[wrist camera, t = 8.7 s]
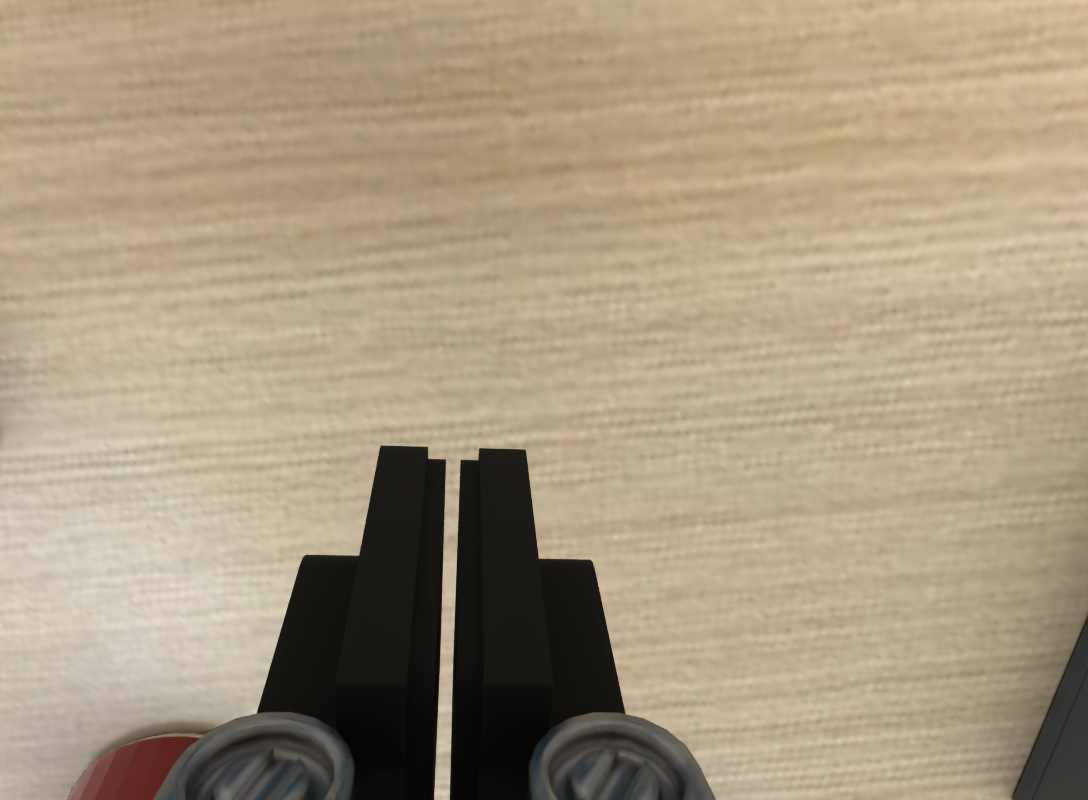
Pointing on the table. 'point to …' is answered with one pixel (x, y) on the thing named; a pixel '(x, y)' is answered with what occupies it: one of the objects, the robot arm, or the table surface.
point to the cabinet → (1062, 739)
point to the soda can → (132, 769)
